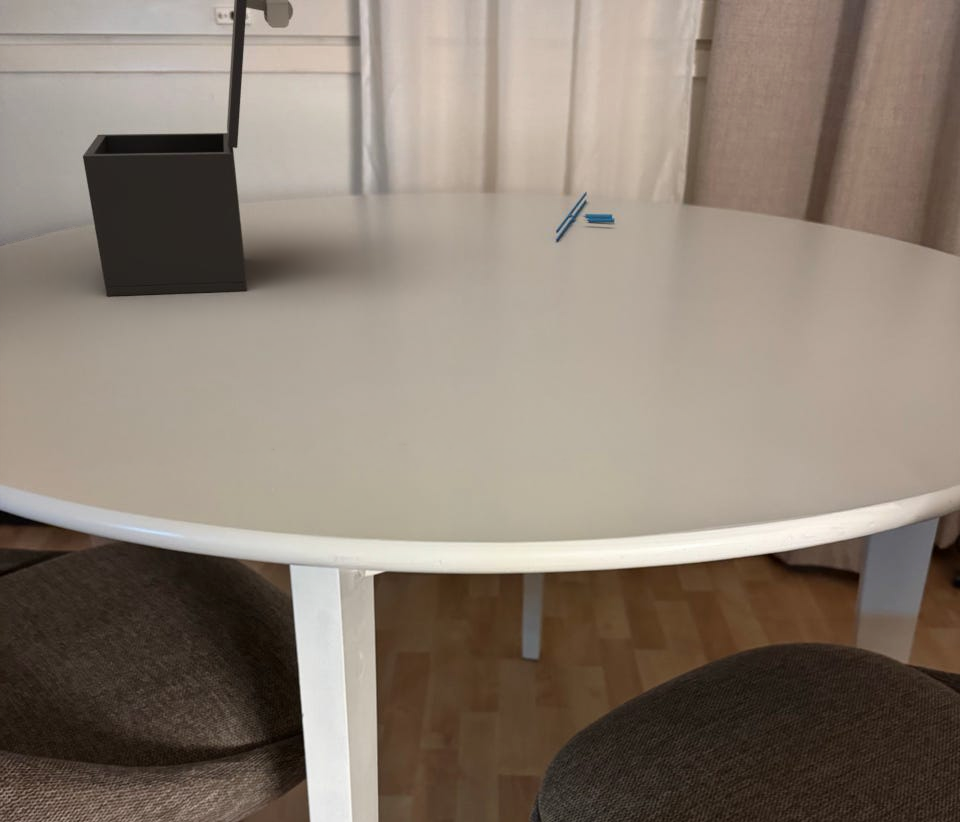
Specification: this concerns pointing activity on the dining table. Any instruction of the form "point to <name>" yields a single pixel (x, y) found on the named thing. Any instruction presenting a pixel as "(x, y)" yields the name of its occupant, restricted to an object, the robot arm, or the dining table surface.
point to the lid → (239, 63)
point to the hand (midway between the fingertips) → (276, 25)
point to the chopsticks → (591, 217)
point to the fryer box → (166, 213)
